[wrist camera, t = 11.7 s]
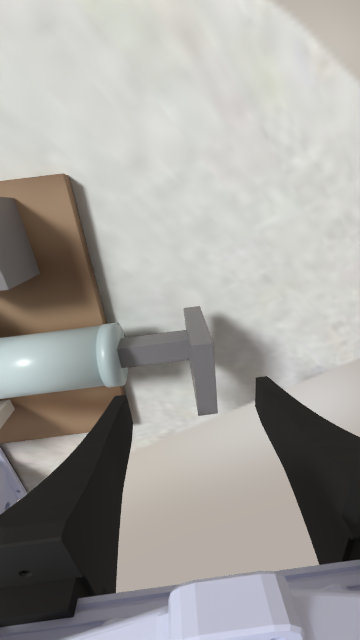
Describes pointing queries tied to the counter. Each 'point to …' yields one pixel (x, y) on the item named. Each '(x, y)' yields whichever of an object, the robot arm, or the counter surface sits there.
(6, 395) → the grey and blue plunger
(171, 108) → the counter surface
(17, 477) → the robot arm
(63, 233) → the mounting board
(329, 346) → the counter surface
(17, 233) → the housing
